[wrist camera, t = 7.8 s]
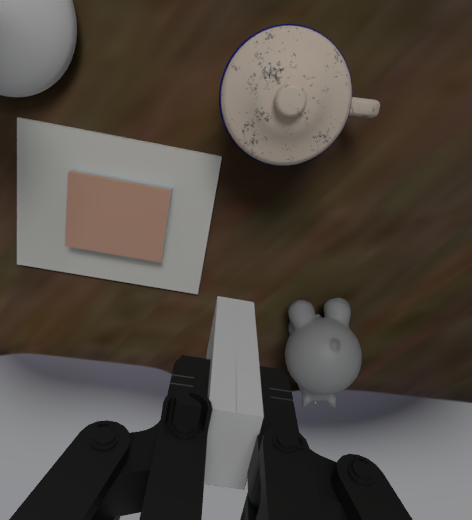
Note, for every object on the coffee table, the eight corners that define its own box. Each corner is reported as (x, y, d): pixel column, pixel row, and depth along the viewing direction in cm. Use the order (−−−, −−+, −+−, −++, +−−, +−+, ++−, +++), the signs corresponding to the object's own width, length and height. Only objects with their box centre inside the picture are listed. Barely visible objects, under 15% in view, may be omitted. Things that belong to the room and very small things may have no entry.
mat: (222, 156, 39) (221, 157, 39) (198, 292, 44) (197, 294, 44) (19, 117, 38) (17, 117, 37) (19, 262, 43) (16, 264, 43)
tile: (170, 190, 38) (67, 171, 38) (160, 262, 41) (64, 246, 40) (173, 187, 40) (74, 168, 39) (163, 256, 42) (70, 240, 42)
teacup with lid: (217, 144, 39) (211, 167, 28) (227, 30, 35) (225, 7, 25) (348, 158, 39) (392, 186, 29) (370, 48, 36) (429, 32, 25)
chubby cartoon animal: (276, 358, 51) (281, 429, 45) (284, 291, 42) (291, 367, 36) (337, 359, 51) (350, 430, 45) (358, 291, 42) (377, 368, 36)
